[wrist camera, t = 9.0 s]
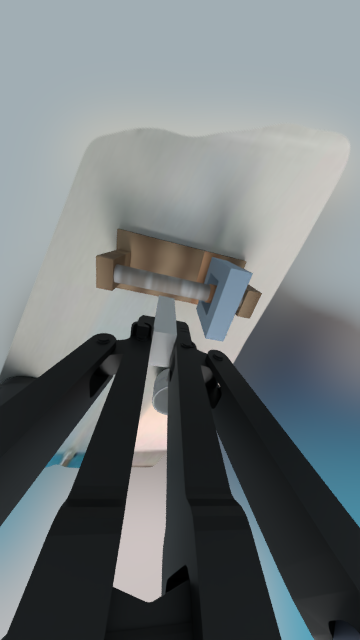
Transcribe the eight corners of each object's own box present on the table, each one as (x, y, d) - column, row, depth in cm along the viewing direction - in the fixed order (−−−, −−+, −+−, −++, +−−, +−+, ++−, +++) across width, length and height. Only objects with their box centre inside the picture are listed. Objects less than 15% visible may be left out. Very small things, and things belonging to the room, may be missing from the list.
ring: (196, 308, 30) (205, 338, 21) (212, 256, 25) (231, 268, 17) (209, 311, 30) (223, 341, 22) (226, 260, 26) (252, 273, 17)
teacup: (160, 357, 41) (158, 383, 33) (200, 365, 42) (206, 391, 35) (149, 392, 47) (145, 420, 40) (184, 398, 49) (186, 426, 42)
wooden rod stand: (116, 285, 32) (92, 307, 22) (119, 229, 27) (91, 226, 18) (225, 308, 35) (244, 335, 25) (244, 260, 30) (275, 272, 21)
